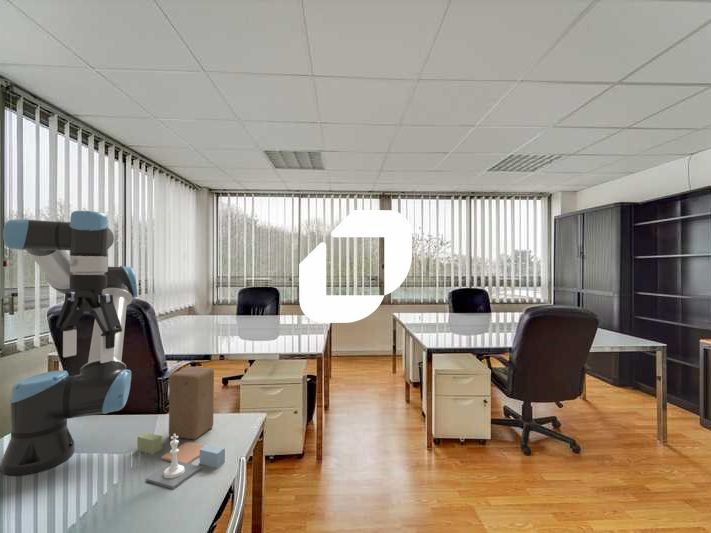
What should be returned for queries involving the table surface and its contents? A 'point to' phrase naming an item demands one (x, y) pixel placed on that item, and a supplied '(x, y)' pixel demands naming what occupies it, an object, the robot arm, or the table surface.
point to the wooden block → (191, 402)
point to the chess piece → (174, 461)
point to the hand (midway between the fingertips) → (87, 358)
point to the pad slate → (176, 481)
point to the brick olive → (149, 443)
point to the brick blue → (212, 456)
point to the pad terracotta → (185, 453)
